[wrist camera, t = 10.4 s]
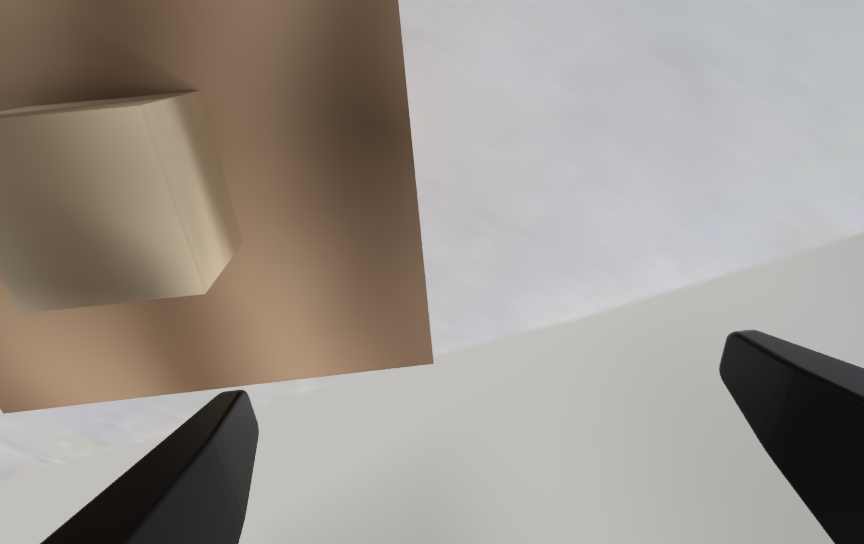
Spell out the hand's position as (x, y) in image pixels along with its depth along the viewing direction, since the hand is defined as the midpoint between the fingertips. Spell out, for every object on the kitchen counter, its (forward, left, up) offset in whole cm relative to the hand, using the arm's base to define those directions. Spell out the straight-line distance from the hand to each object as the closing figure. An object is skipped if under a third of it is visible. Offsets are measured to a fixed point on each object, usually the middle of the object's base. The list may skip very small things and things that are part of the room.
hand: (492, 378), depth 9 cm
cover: (+8, -3, -6) cm, 11 cm away
